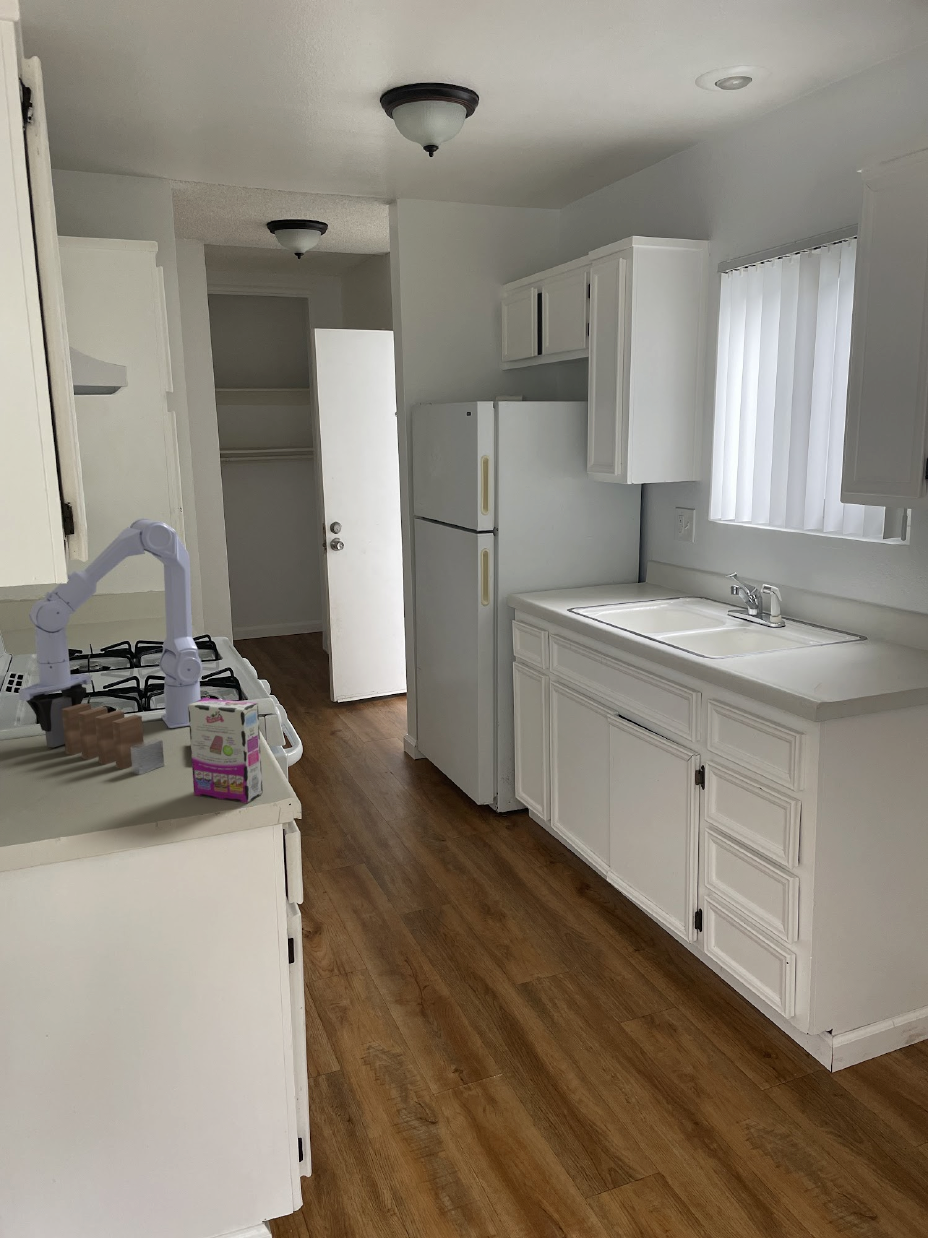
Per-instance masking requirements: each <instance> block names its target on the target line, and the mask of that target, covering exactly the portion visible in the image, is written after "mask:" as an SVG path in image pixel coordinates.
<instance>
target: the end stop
mask: <svg viewBox="0 0 928 1238" xmlns="http://www.w3.org/2000/svg"><path fill="white" fill-rule="evenodd" d="M163 742H164V741H163V740H162V739H160V738H153V739H150V740H147V741H144V742H143V743H140V744H138V745H135V746H132V747H131V760H132V767H131V770H132V771H131V773H132V774H135V775H138V776H140V775H144V774H146V773H149V772H151V771H154V770H156V769H159V768H161V767H165V758H164V756H165V755H164V745H163Z"/></svg>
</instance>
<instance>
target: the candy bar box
mask: <svg viewBox="0 0 928 1238" xmlns="http://www.w3.org/2000/svg"><path fill="white" fill-rule="evenodd" d="M188 711H189V735H190V736H189V737H190V750H191V751H190V753H191V754H190V755H191V767H192V784H193V794H194V796H196V795H198V796H199V797H203V798H209V797H210V799H216V798H218V799H217V800H223V801H232V802H238V803H239V802H240V803H245V804H247V803H250V802H252V801H253V800H255V799H256V798H258V797H260V796H261V795H262V794H263V791H264V790H263V773H262V760H261V759H262V757H261V756H262V755H261V736H260V721H259V720H260V718H259V717H260V716H259V703H258V702H247V701H241V700H240V701H239V700H229V699H217V698H206V697H204V698H201V700H198V701H196V702H194V703H192V704H189V705H188ZM198 796H197V797H198Z"/></svg>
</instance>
